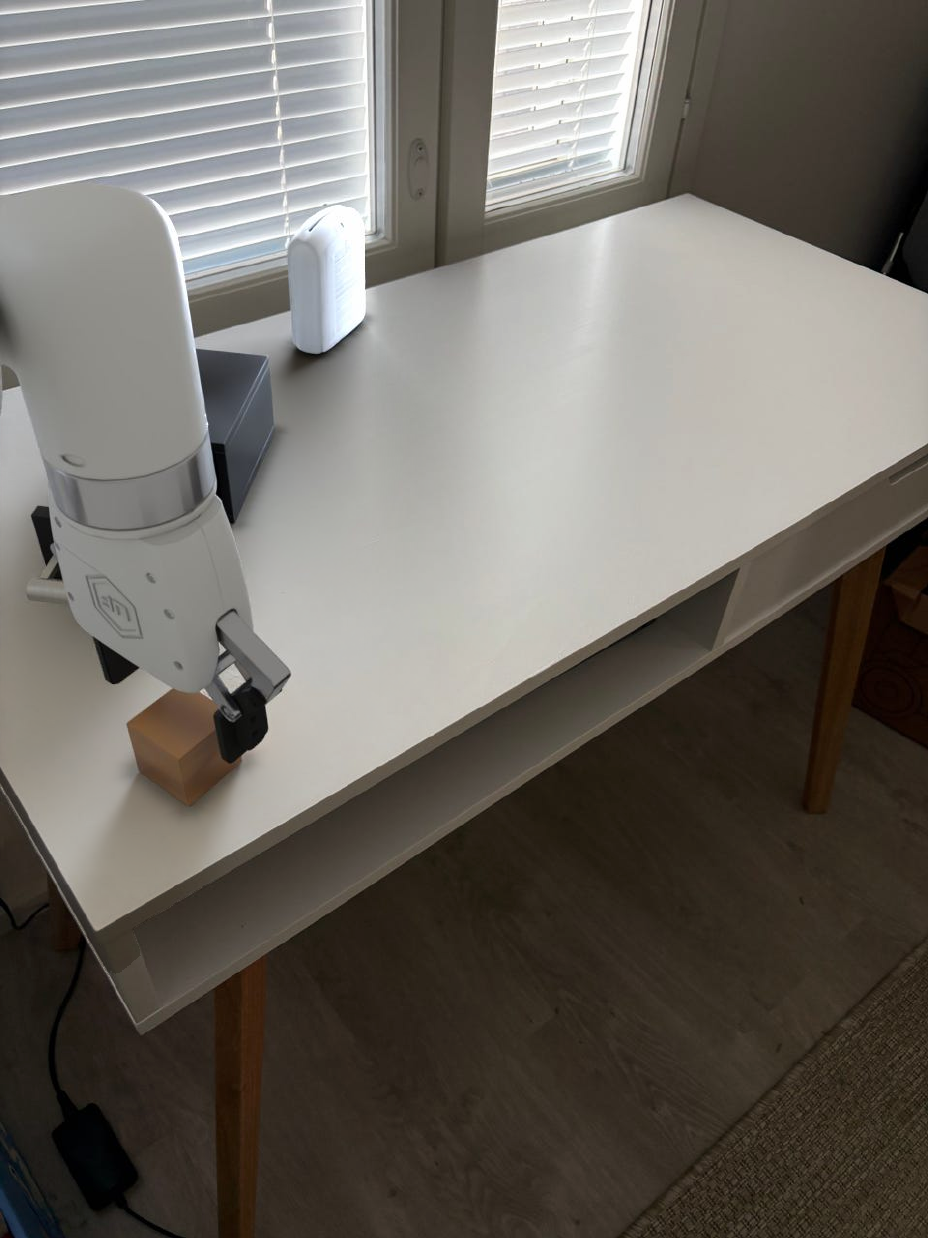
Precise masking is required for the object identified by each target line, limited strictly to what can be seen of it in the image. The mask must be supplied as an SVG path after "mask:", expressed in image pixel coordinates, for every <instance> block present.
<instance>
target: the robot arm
mask: <svg viewBox="0 0 928 1238" xmlns="http://www.w3.org/2000/svg"><path fill="white" fill-rule="evenodd" d="M179 245H180V244H179V240H178V236H177V232H176V230H175V227H174V225H173V222H172V220H171V218H170V217H169V215H168V213H167V212H166V211H165V210H164V209H163V208H162V207H161V206H160V204H158V202H157V201H156V200H154V199H152V198H150V197H149V196H148V195H146V194H144V193H142V192H140V191H137V190H135V189H132V188H130V187H125V186H121V185H115V184H111V183H100V182H99V183H97V182H70V183H61V184H60V183H59V184H55V185H48V186H44V187H40V188H36V189H32V190H29V191H26V192H22V193H20V194H0V415H1V414H2V408H3V373H2V366H6V367H7V368H9V369H11V370H12V371H13V372H14V373H15V376H16V377H17V380H18V383H19V387H20V389H21V393H22V397H23V400H24V404H25V407H26V411H27V414H28V417H29V420H30V423H31V427H32V430H33V433H34V437H35V440H36V443H37V447H38V450H39V454H40V456H41V460H42V463H43V467H44V470H45V473H46V477H47V480H48V507H49V511H50V520H51V527H52V533H53V538H54V543H53V544H51V545H50V548H51V551H52V553H53V554H54V556H55V558H56V560H57V561H58V563H59V566H60V570H61V575H62V579H63V583H64V586H65V590H66V594H67V597H68V601H69V604H70V605H69V608H70V610H71V613H72V616H73V618H74V620H75V621H76V622H77V624H78V625H79V626H80V627H81V628H82V629H84V631H85V632H86V633H88V634H90V635H91V637H92V640H93V643H94V646H95V651H96V654H97V656H98V660H99V663H100V666H101V667H100V668H101V670H102V674H103V677H104V680H105V681H106V682H108V683H109V684H111V685H119V684H120V683H121V682H123V681H124V680H126V679H127V678H128V677H130V676H132V674H134V673H135V672H137V671H138V670H139V669H141V670H143V671H144V672H146V673H148V674H149V675H151V676H152V677H154V678H155V679H157V680H158V681H160V682H162V683H163V684H165V685H167V686H168V687H170V688H171V689H172V688H174V689H176V690H179V691H181V692H185V693H198V692H202V690H203V689H204V690H205V692H206V693H207V694H208V697H209V698H211V699H212V700H213V702H214V703H215V704H216V706H217V707H218V710H217V711H216V712H215V713H214V715H213V719H214V724H215V729H216V734H217V739H218V744H219V749H220V754H221V757H222V759H223V760H224V761H226V762H227V763H229V764H232V763H234V762H235V761H236V760H237V759H238V758H239V757H242V756H243V755H244V754H245V753H247V752H249V751H252V750H254V749H255V748H256V747H257V746H259V745H260V744H261V743H262V742H263V740H264V738H265V737H266V735H267V734H268V732H269V723H268V716H267V715H268V714H267V707H266V706H267V704H268V703H270V702H271V701H273V700H274V699H275V698H276V697H277V696H278V695H280V694H281V693H282V692H283V689H284V687H285V686H286V684H287V683H288V681H289V679H290V678H291V677H292V672H291V670H290V668H289V667H288V666H287V665H286V663H284V661H283V660H282V659H281V658H280V657H279V656H278V655H277V654H276V653H275V652H274V651H273V650H272V649H271V648H270V647H269V646H268V645H267V644H266V643H265V642H264V641H263V640H262V639H261V638H260V637H259V636H258V635H257V634H256V632H254V631H255V630H254V619H253V612H252V606H251V600H250V594H249V589H248V585H247V581H246V577H245V576H246V575H245V572H244V567H243V564H242V559H241V557H240V553H239V549H238V546H237V543H236V538H235V537H234V536H235V535H234V533H233V529H232V527H231V524H230V523H229V520H228V518H227V515H226V513H225V510H224V507H223V504H222V501H221V499H220V498H219V497H218V496H217V495H216V494H215V493H216V489H217V481H216V475H215V469H214V463H213V456H212V450H211V444H210V437H209V431H208V425H207V418H206V412H205V408H204V399H203V393H202V386H201V380H200V374H199V367H198V361H197V355H196V349H197V348H196V344H195V343H196V342H195V337H194V336H195V335H194V330H193V323H192V317H191V311H190V303H189V299H188V292H187V284H186V279H185V278H186V277H185V273H184V266H183V261H182V260H183V259H182V254H181V249H180V246H179ZM219 644H220V645H221V646H222V647H223V648H224V649H225V651H223V652H221V654H220V651H221V649H220V645H219ZM232 665H234V666H235V667H236V669H237V671H238V673H239V674H240V675H241V677H242V678H243V680H244V682H243V683H241V685H239V686H237V688H235V689H234V690H233V691H232V692H230V691H229V689H228V687H227V686H226V684H225V683H224V682H223V680H222V679H221V677H220V676H219V675H221V674H222V673H223V672H225V670H227V669H228V668H230V667H231V666H232Z"/></svg>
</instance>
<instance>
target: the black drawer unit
mask: <svg viewBox="0 0 928 1238" xmlns="http://www.w3.org/2000/svg"><path fill="white" fill-rule="evenodd" d="M196 355H197V361H198V367H199V374H200V380H201V386H202V393H203V399H204V408H205V412H206V418H207V425H208V431H209V437H210V444H211V450H212V451H214V452H216V460H217V467H218V475H219V482H220V490H221V497H222V500H221V501H222V504H223V507H224V510H225V513H226V515H227V518H228V520H229V523H230V525H234V524H236V521H237V519H238V516H239V515H240V512H241V509H242V508H243V505H244V503H245V501H246V498H247V496H248V494H249V492H250V489H251V487H252V484H253V482H254V480H255V478H256V476H257V473H258V471H259V469H260V467H261V464H262V462H263V460H264V457H265V455H266V454H267V451H268V449H269V446H270V444H271V442H272V440H273V437H274V435H275V433H276V429H275V418H274V408H273V407H274V406H273V396H272V394H273V393H272V384H271V383H272V382H271V373H270V372H271V371H270V360H269V359H270V357H269V355H262V354H252V353H243V352H233V351H223V350H216V349H215V350H214V349H206V348H205V349H204V348H196Z"/></svg>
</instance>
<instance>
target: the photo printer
mask: <svg viewBox="0 0 928 1238" xmlns="http://www.w3.org/2000/svg"><path fill="white" fill-rule="evenodd" d="M364 225H365V224H364V222H363V219H362V217H361V216H360V214H359V212H358V211H356V209H355V208H352V207H346V206H342V205H333V206H330V207H326V208H324V209H322V210H320V211H318V212H317V213H315V214H314V215H312V216H311V217H309V218H308V219H307V220H306V221H305V222H304V223H303V224H302V225H301V226H300V227H299V228H298V230H297V231H296V232H295V233H294V235H293V236H292V238H291V240H290V242H289V244H288V247H287V251H286V260H287V275H288V293H289V295H288V296H289V308H290V309H289V310H290V323H291V324H290V325H291V339H292V343H293V345H294V346H296V348H297V349H298V350H299V351H301V352H304V353H307V354H315V355H318V354H321V353H325V352H327V351H329V350H330V349H332V348H333V347H334V346H336V345H337V344H338V343H339V342H340V341H341V340H343V339H344V338H345V337H346V336H347V335H348V334H349V333H350V332H352V331H353V330H354V329H355V328H356V327H357V326H358V325H359V324H360V323H361V322H362V321H363V320H364V318H365V315H366V289H365V288H366V275H365V274H366V272H365V271H366V269H365V267H366V266H365V226H364Z"/></svg>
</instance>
